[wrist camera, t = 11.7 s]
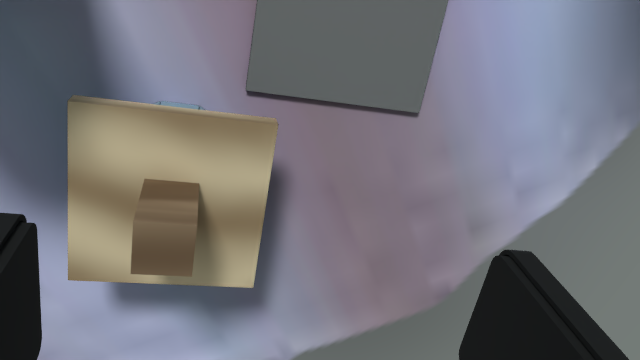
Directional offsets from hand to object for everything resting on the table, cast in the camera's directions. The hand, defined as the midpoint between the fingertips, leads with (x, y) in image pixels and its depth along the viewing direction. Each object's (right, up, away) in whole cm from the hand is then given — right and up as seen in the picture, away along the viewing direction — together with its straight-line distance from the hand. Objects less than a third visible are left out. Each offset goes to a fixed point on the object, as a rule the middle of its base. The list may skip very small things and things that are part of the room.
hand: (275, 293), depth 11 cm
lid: (-8, +1, +21) cm, 23 cm away
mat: (+3, +13, +23) cm, 27 cm away
